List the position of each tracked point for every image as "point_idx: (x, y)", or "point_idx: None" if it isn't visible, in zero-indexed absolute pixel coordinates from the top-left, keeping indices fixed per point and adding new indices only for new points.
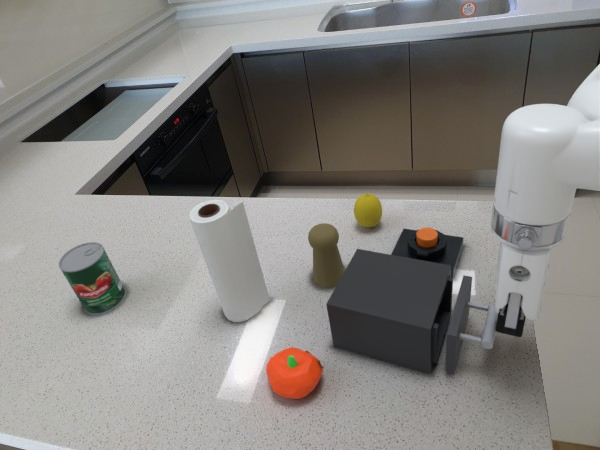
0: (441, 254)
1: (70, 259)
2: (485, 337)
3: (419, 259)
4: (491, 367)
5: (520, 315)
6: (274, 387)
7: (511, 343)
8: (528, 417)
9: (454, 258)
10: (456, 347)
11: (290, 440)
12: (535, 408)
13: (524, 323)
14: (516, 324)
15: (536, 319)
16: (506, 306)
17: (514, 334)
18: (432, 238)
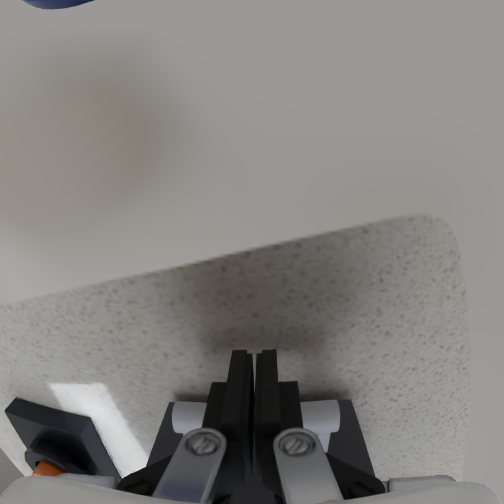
0: (61, 450)
1: None
2: (324, 432)
3: (94, 475)
4: (298, 335)
5: (372, 493)
6: None
7: (206, 305)
8: (406, 244)
9: (53, 430)
10: (359, 458)
11: (458, 477)
12: (382, 233)
13: (278, 393)
14: (300, 417)
15: (489, 490)
16: (244, 471)
17: (296, 381)
18: None
